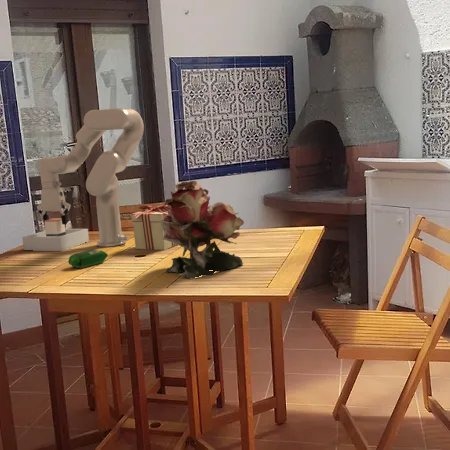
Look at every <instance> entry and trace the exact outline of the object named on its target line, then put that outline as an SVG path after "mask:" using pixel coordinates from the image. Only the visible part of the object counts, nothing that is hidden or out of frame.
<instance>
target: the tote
mask: <svg viewBox="0 0 450 450" xmlns="http://www.w3.org/2000/svg"><path fill="white" fill-rule="evenodd" d="M65 232H66V235H63V236H60V237H46V230H42V231H39V232H36V233H32V234H27V235H24V236H22V237H21V238H22V245H23V246H22V247H23V251H24V250H33V251H32V252H47V251H48V252H63V251H64V252H65V251H66V249H67V250H70V249H72V247H73V248H75V247H74V246H76V247H78V246H77V245H79V246H81V245H83V244H82V243H84V244H86V243H85V242H87V243H89V242H90V239H89V238H90V237H89V229H88V228H65ZM88 241H89V242H88ZM80 244H81V245H80ZM69 248H70V249H69Z"/></svg>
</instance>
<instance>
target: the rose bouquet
mask: <svg viewBox="0 0 450 450" xmlns="http://www.w3.org/2000/svg"><path fill="white" fill-rule="evenodd" d="M180 182H181V183H177V184H175V186H174V189H175V191H173V190H171V191H170V195H171V198H167V199H166V200H164V205H163V206H165V205H168V208H165V209H166V210H167V211H168V216H166V217H165V218H164V220H162V221H163V222H162V224H161V225H162V227H163V231H164V237H163V238H162V239H164V240H167V241H170V242H173V243H175V244H178V245H177V246H180V247H182V248H183V253H182V256H177V257H174V258H171V260H172V265H171V266H170V267H167V269H166V270H165V272H164V273H170V272H171V273H173V272H174V273H177V275H178V276H181V277H184V278H187V279H189V280H191V279H190V278H195V277H199V276H201V275H210V276H213V275H214V274H213V273H214V272H215V271H220V272H223V271H225V270H230V269H235V268H237V267H238V266H240V265H244V262H243V259H242V258H241V257H240V256H238V255H235V253H233V254H231V253H229V252H225V251H222V250H221V249H220V248H219V246H218V245H217V243H216V241H215V240H220V241H222V242H225V243H228V244H231V243H232V244H235V245H237V243H236V242H233V241H230V240H229V239H233V240H236V239H237V238H238V237H240V232H239V231H240V227H241V226H244V224H245V222H244V220H243V219H242V218H241V217H237V215H239V212H237V211H234V208H233V207H232V206H231V205H230V204H229V203H225V202H223V201H222V202H221V201H218V202H216V203H213V204H211V205H209V204H210V200H211V196H208V195H207V194H206V192H204V191H203V190H204V189H203V187H202V186H201V184H199V182H198V180H197V181H196V180H190V181H188V180H187V181H183V180H182V181H180ZM212 240H213V242H212ZM202 246H203V247H204V246H205V247H204V248H203V249H202V250H201V251H199V247H202ZM187 251H189V257H186V256H185V254H186V252H187ZM209 270H213V271H209Z"/></svg>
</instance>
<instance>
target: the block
mask: <svg viewBox="0 0 450 450" xmlns="http://www.w3.org/2000/svg"><path fill="white" fill-rule="evenodd" d="M63 235H66V232H63V233H59V234H46V237H60V236H63Z"/></svg>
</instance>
